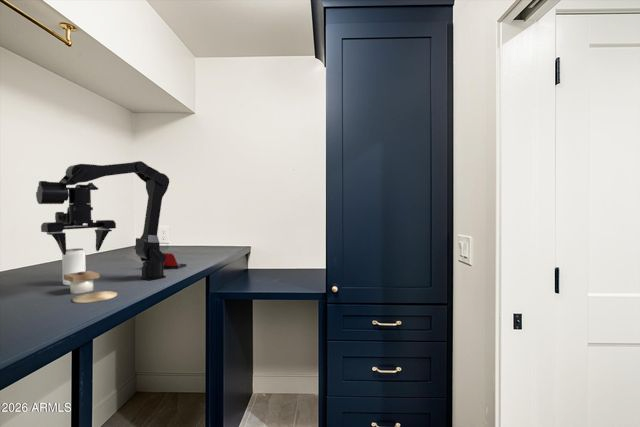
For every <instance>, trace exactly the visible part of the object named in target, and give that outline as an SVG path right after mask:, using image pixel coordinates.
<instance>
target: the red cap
mask: <svg viewBox="0 0 640 427" xmlns="http://www.w3.org/2000/svg"><path fill="white" fill-rule="evenodd" d="M162 253H163V254H164V255H165V256H166V260H165V262H163V269H170V270H178V269H182V268H185V267H187V265H188V264H187V263H178V261H177V260H176V257H175V255H174V254H173V253H169V252H167V253H165V252H162Z"/></svg>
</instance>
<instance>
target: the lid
mask: <svg viewBox="0 0 640 427" xmlns="http://www.w3.org/2000/svg"><path fill="white" fill-rule="evenodd" d="M90 279H93V280H95V279H100V272H95V271H91V270H87V271H85V272H78V273H72V274H65V275H64V280H67V281H71V282H78V281H84V280H90Z"/></svg>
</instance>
